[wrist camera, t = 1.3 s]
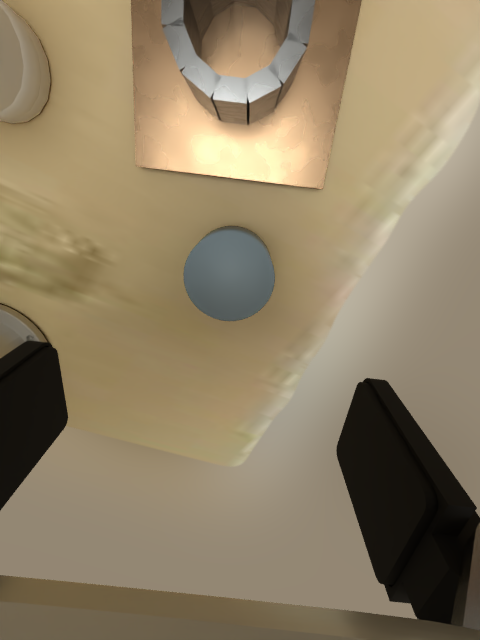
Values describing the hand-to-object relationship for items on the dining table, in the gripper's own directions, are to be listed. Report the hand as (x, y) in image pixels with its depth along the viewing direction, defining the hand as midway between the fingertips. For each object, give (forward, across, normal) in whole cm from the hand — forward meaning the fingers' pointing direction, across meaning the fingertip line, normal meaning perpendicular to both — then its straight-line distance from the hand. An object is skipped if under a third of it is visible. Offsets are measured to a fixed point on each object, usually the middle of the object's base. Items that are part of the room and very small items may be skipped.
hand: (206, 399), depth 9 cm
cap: (+22, 0, 0) cm, 22 cm away
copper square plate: (+22, +1, -15) cm, 26 cm away
